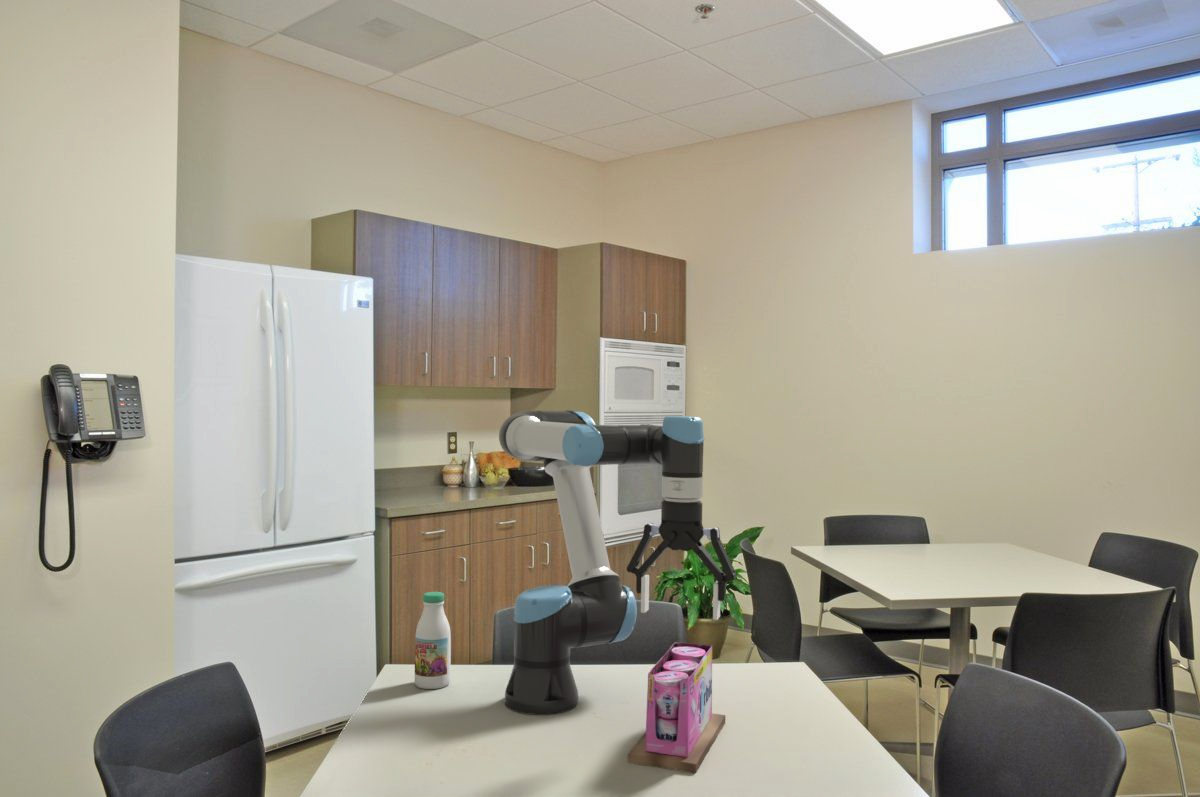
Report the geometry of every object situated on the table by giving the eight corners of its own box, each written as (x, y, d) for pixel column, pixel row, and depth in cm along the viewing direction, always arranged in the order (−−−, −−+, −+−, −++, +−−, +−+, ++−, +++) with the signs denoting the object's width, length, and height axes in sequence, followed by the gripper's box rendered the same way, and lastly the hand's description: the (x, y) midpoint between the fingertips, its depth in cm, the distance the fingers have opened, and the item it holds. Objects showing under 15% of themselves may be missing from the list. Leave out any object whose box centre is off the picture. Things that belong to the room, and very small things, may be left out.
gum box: (687, 761, 145) (688, 680, 146) (642, 755, 148) (643, 676, 148) (712, 714, 168) (713, 644, 168) (673, 709, 171) (674, 641, 171)
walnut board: (627, 762, 148) (627, 753, 148) (665, 714, 172) (665, 707, 172) (695, 773, 144) (695, 764, 144) (725, 722, 168) (725, 715, 168)
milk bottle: (421, 678, 194) (422, 589, 194) (454, 680, 193) (455, 590, 193) (409, 689, 186) (410, 596, 186) (443, 691, 185) (445, 597, 185)
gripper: (611, 497, 160) (609, 612, 159) (745, 505, 151) (743, 626, 151) (624, 494, 167) (622, 603, 166) (752, 501, 158) (751, 616, 158)
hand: (680, 614), depth 159 cm, fingers open, 13 cm apart
